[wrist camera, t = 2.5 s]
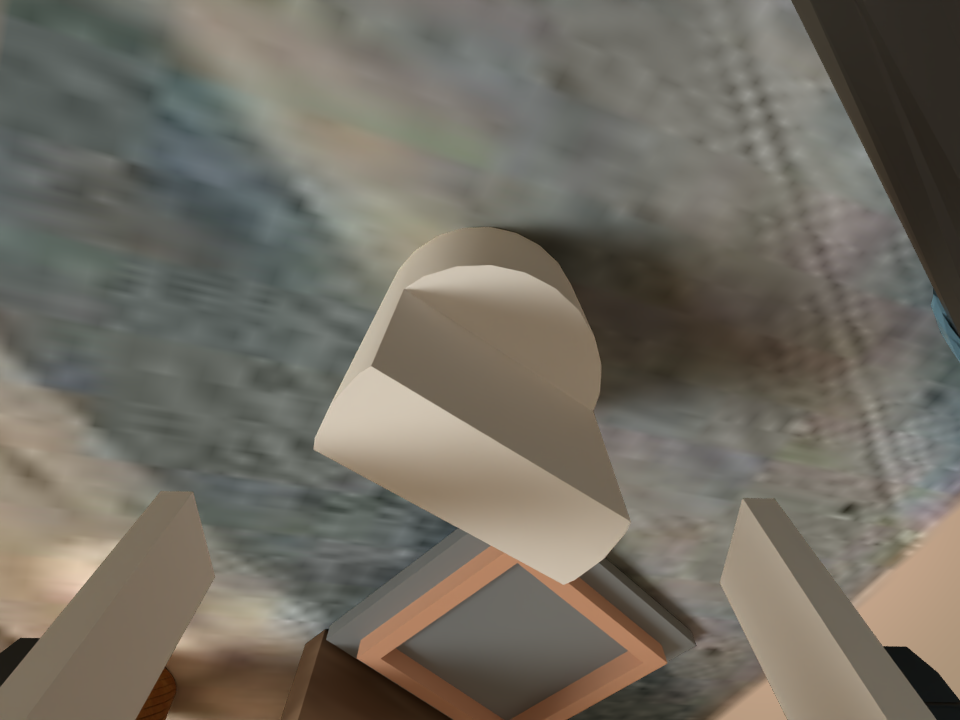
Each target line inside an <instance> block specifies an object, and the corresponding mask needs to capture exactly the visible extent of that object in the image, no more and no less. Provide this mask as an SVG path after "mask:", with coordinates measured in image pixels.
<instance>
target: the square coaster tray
mask: <svg viewBox="0 0 960 720" xmlns="http://www.w3.org/2000/svg"><path fill="white" fill-rule="evenodd" d="M326 640H327V641H329V642H331V643H332V644H334V645H335V646H337V647H339V648H340V649H342V650H343V651H345V652H346V653H348V654H350V655H351V656H353V657H354V658H356V659H358V660H359V661H361V662H362V663H364V664H365V665H367V666H369V667H370V668H372V669H373V670H375V671H376V672H378V673H380V674H381V675H383V676H384V677H386V678H388V679H389V680H391V681H392V682H394V683H395V684H397V685H399V686H400V687H402V688H403V689H405V690H407V691H408V692H410V693H411V694H413V695H414V696H416V697H418V698H419V699H421V700H422V701H424V702H426V703H427V704H429V705H430V706H432V707H433V708H435V709H437V710H438V711H440V712H441V713H443V714H444V715H446V716H448V717H449V718H451V719H452V720H567V719H569V718H571V717H572V716H574V715H576V714H578V713H580V712H581V711H583V710H585V709H587V708H589V707H590V706H592V705H594V704H596V703H597V702H599V701H601V700H603V699H605V698H606V697H608V696H610V695H612V694H614V693H615V692H617V691H619V690H621V689H622V688H624V687H626V686H628V685H630V684H631V683H633V682H635V681H637V680H639V679H640V678H642V677H644V676H646V675H648V674H649V673H651V672H653V671H655V670H656V669H658V668H660V667H662V666H664V665H665V664H667V662H668V661H670V660H672V659H674V658H675V657H677V656H679V655H681V654H682V653H684V652H686V651H688V650H690V649H691V648H693V647H695V646H696V643H695V641H694V638H693V635H692V633H691V631H690V630H689V629H688V628H686V627H685V626H684V625H683V624H682V623H681V622H680V621H678V620H677V619H676V618H675V617H674V616H673V615H671V614H670V613H669V612H668V611H667V610H666V609H664V608H663V607H662V606H661V605H660V604H659V603H657V602H656V601H655V600H654V599H653V598H652V597H650V596H649V595H648V594H647V593H646V592H645V591H643V590H642V589H641V588H640V587H639V586H638V585H636V584H635V583H634V582H633V581H632V580H631V579H629V578H628V577H627V576H626V575H625V574H624V573H622V572H621V571H620V570H619V569H618V568H617V567H615V566H614V565H613V564H612V563H611V562H610V561H608V560H607V559H606V558H604V559H603V560H601V561H600V562H599V563H597V564H596V565H595V566H593V567H592V568H590V569H589V570H588V571H586V572H585V573H584V574H582V575H581V576H579V577H578V578H577V579H575V580H574V581H571V582H569V583H567V584H565V585H563V584H561V583H559V582H557V581H556V580H554V579H552V578H550V577H548V576H546V575H544V574H543V573H541V572H539V571H537V570H535V569H533V568H532V567H530V566H528V565H526V564H524V563H522V562H520V561H519V560H517V559H515V558H513V557H511V556H509V555H508V554H506V553H504V552H502V551H500V550H498V549H496V548H495V547H493V546H491V545H489V544H487V543H485V542H483V541H482V540H480V539H478V538H476V537H474V536H472V535H471V534H469V533H467V532H465V531H463V530H461V529H459V528H458V529H457V530H455V531H454V532H453V533H451V534H450V535H449V536H447V537H446V538H445V539H443V540H442V541H441V542H439V543H438V544H437V545H436V546H434V547H433V548H432V549H430V550H429V551H428V552H426V553H425V554H424V555H422V556H421V557H420V558H418V559H417V560H416V561H414V562H413V563H412V564H411V565H409V566H408V567H407V568H405V569H404V570H403V571H401V572H400V573H399V574H397V575H396V576H395V577H393V578H392V579H391V580H389V581H388V582H387V583H385V584H384V585H383V586H382V587H380V588H379V589H378V590H376V591H375V592H374V593H372V594H371V595H370V596H368V597H367V598H366V599H364V600H363V601H362V602H360V603H359V604H358V605H356V606H355V607H354V608H353V609H351V610H350V611H349V612H347V613H346V614H345V615H343V616H342V617H341V618H339V619H338V620H337V621H335V622H334V623H333V624H331V625H330V628H329V631H328V635H327V638H326Z"/></svg>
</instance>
